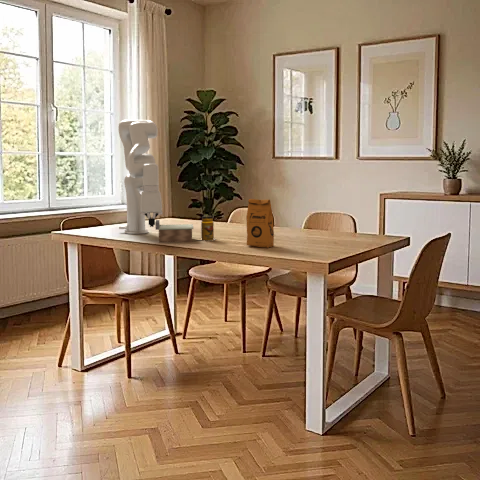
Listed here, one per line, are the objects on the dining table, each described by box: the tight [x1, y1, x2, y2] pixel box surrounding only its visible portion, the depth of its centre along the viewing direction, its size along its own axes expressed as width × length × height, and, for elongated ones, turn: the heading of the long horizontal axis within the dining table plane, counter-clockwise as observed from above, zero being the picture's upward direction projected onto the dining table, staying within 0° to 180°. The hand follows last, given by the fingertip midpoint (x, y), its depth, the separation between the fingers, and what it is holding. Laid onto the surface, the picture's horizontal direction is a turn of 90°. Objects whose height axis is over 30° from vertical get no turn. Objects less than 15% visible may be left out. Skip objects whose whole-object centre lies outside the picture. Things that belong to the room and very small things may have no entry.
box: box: [158, 229, 193, 243], centre depth 308 cm, size 16×12×6 cm
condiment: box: [200, 215, 216, 242], centre depth 309 cm, size 7×8×12 cm
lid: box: [154, 219, 194, 231], centre depth 307 cm, size 18×12×3 cm
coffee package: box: [245, 198, 275, 249], centre depth 287 cm, size 10×12×22 cm
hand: (151, 226), depth 306 cm, fingers closed
